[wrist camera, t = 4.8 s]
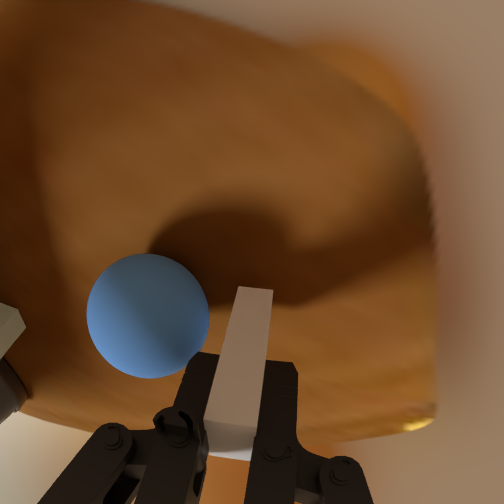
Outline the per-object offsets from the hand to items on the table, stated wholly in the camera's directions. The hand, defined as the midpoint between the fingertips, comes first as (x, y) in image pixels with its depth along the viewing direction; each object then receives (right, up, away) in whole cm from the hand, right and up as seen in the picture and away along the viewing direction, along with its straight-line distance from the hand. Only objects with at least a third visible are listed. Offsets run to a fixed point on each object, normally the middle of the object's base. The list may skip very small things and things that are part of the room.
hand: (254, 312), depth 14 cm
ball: (-5, 0, -1) cm, 5 cm away
